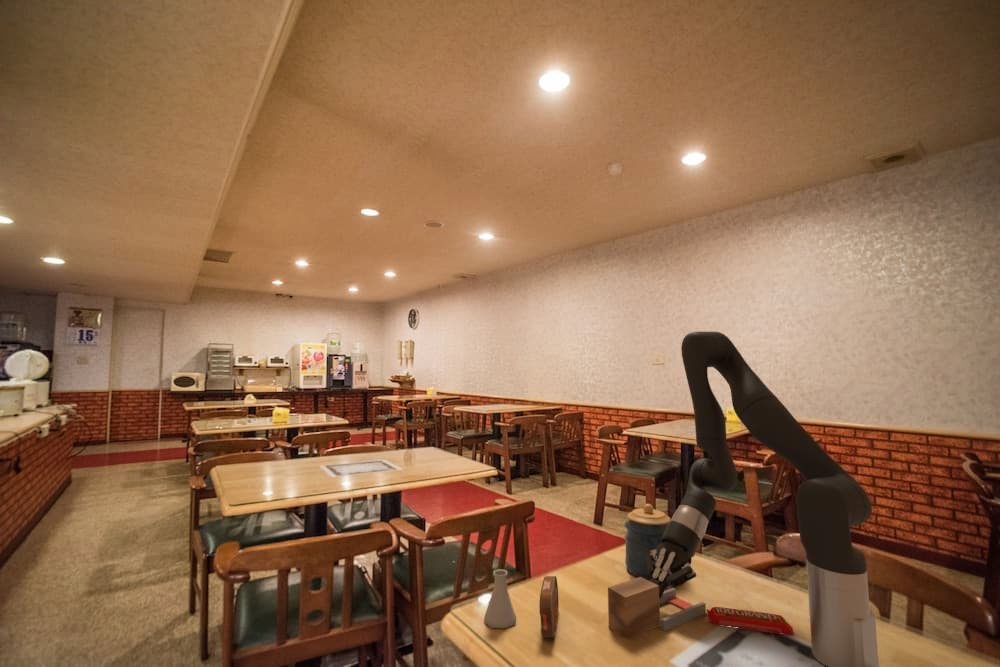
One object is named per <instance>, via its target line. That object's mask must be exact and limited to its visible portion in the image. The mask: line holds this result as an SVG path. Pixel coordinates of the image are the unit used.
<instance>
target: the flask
mask: <svg viewBox="0 0 1000 667" xmlns="http://www.w3.org/2000/svg"><path fill="white" fill-rule="evenodd" d="M492 575H493V577H494V585H493V590H492V592H491V596H490V598H489V599H490V600H489V602H488V605H487V608H486V611H485V614H484V620H483V622H484V623H485V624H486V625H487V626H488V627H489V628H491V629H507V628H509V627H512V626H515V625H517V616H516V612H515V609H514V606H513V603H512V600H511V597H510V593H509V590H508V584H507V577H508V571H507V570H506V569H499V568H498V569H495V570H493V572H492Z"/></svg>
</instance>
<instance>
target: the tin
mask: <svg viewBox="0 0 1000 667" xmlns="http://www.w3.org/2000/svg"><path fill="white" fill-rule="evenodd" d="M559 605H560V604H559V588H558V579H557V576H556V575H554V576H553V575H552V576H551V575H547V576H544V577H543V580H542V585H541V590H540V594H539V617H540V626H541V627H540V633H541V636H542V637H545V638H553V639H555V638H556V635H557V628H558V627H557V626H558V620H559Z"/></svg>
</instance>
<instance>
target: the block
mask: <svg viewBox="0 0 1000 667" xmlns="http://www.w3.org/2000/svg"><path fill="white" fill-rule="evenodd" d="M607 602H608V603H607V607H608V612H607V613H608V628H609V629H611V630H612V631H614V632H616V633H617V634H618V635H619V636H621V637H623V638H624V639H625V640H628V639H630V638H633V637H635V636H638V635H640V634H642V633H645V632H647V631H649V630H651V629H654V628H656V627H659V626H661V615H660V614H661V611H660V605H659V585H657V584H654V583H652V582H651V580H649V579H644V578H642V577H635V578H632V579H629V580H626V581H624V582H620V583H618V584H614V585H612V586H611V585H610V586H608V587H607Z"/></svg>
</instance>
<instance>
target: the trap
mask: <svg viewBox="0 0 1000 667" xmlns="http://www.w3.org/2000/svg"><path fill="white" fill-rule="evenodd" d="M667 602H668V604H671V605H673V606H675V607H677V608H679V609H681V610H684V609H686V608H689V607H691V606H694V605H695V604H692V603H689V602H687V601H685V600H684V599H681V598H679V597H677V596H676V597H675V598H673V599H670V600H668V601H667Z"/></svg>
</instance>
